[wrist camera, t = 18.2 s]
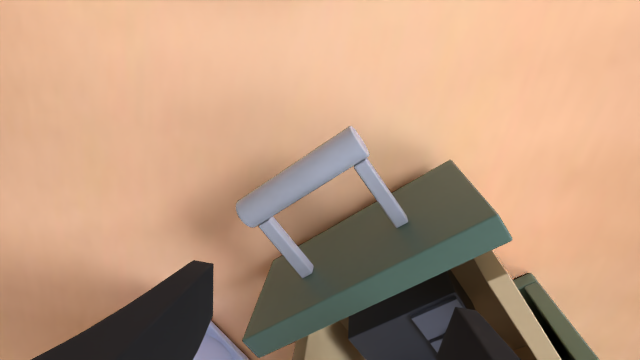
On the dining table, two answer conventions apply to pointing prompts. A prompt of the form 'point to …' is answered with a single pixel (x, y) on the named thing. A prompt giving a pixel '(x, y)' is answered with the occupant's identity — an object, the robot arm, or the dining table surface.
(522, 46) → the dining table surface
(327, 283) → the drawer
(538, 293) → the cabinet
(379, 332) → the dark grey paneled box
